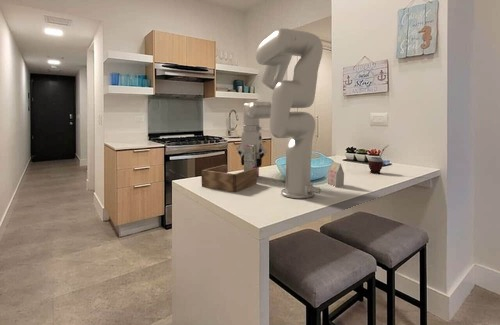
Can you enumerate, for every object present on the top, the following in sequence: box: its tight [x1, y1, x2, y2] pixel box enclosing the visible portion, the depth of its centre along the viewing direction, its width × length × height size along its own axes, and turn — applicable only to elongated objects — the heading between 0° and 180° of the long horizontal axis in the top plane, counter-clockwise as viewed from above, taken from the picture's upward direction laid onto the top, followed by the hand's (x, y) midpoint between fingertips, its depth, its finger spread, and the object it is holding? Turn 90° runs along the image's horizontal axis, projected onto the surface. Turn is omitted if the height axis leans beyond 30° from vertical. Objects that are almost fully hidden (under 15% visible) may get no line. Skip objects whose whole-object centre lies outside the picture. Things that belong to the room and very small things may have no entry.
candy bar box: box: [243, 145, 260, 178], centre depth 147 cm, size 11×5×16 cm, turn 164°
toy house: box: [327, 161, 345, 188], centre depth 133 cm, size 4×7×10 cm, turn 15°
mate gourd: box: [367, 144, 390, 175], centre depth 159 cm, size 8×8×15 cm
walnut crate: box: [200, 164, 258, 193], centre depth 133 cm, size 17×17×7 cm
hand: (251, 165), depth 148 cm, fingers open, 8 cm apart
